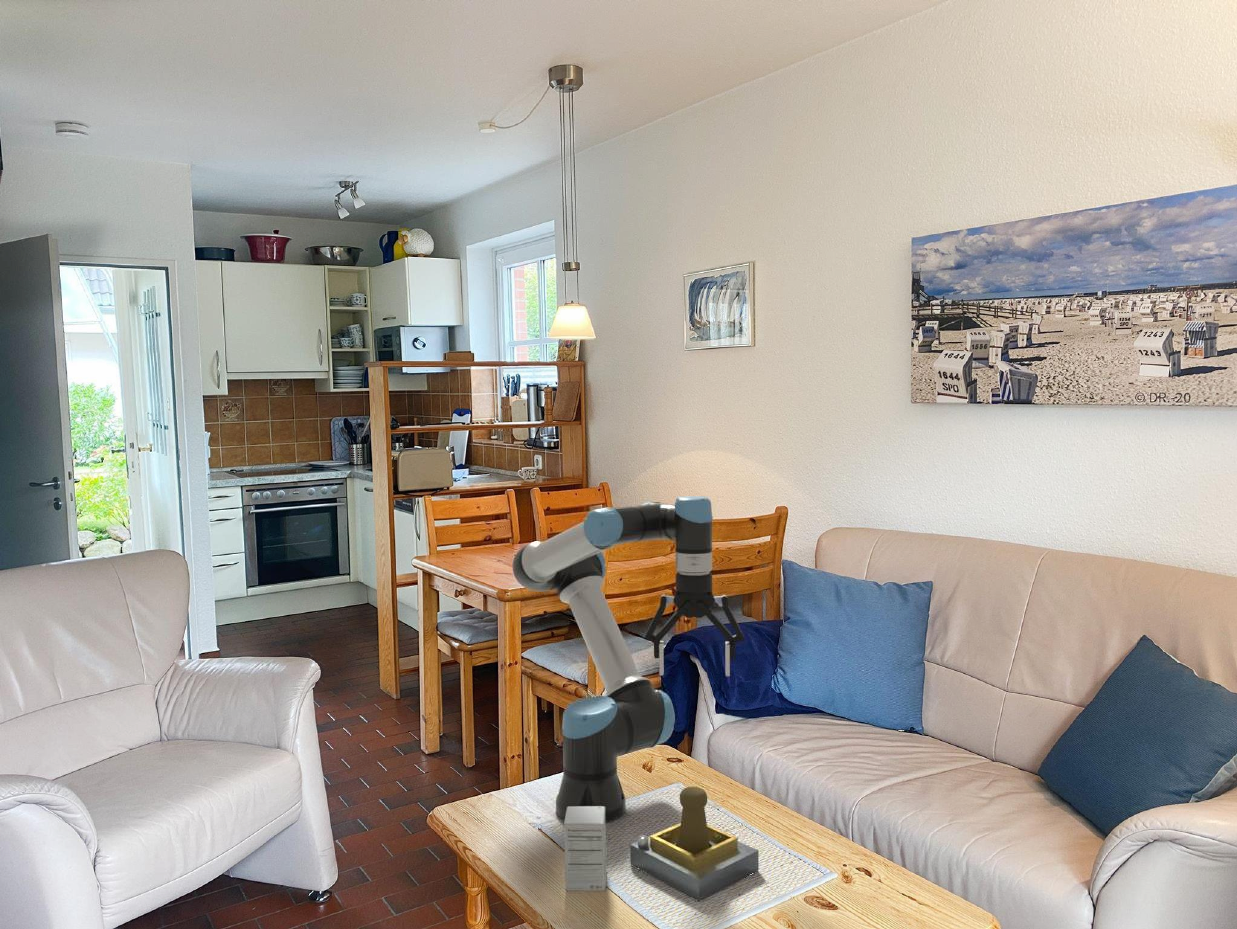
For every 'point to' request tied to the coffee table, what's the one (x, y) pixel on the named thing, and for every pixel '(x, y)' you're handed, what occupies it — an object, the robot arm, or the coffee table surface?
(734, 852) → the grey base with frame
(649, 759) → the coffee table surface
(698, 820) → the olive brown pawn
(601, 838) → the supplement box
